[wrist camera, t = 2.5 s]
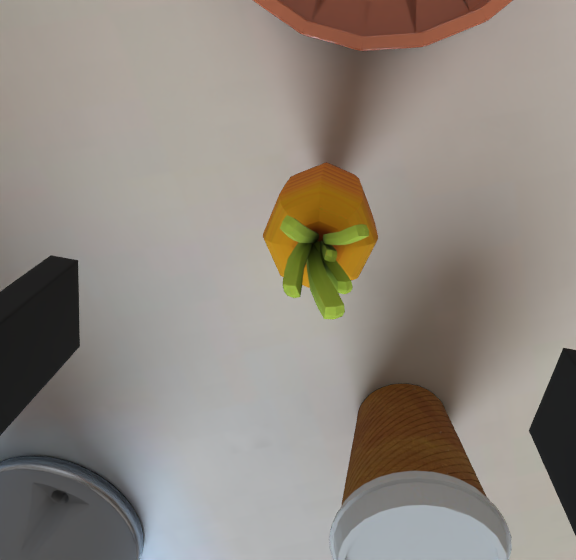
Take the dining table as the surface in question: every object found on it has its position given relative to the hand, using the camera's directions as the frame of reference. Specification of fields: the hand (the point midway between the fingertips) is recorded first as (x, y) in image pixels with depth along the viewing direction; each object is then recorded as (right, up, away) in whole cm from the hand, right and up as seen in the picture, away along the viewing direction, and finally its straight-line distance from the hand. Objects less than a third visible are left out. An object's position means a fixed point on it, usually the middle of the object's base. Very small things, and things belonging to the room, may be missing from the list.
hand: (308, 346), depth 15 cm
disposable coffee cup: (+8, -8, +24) cm, 27 cm away
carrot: (+2, +8, +18) cm, 20 cm away
